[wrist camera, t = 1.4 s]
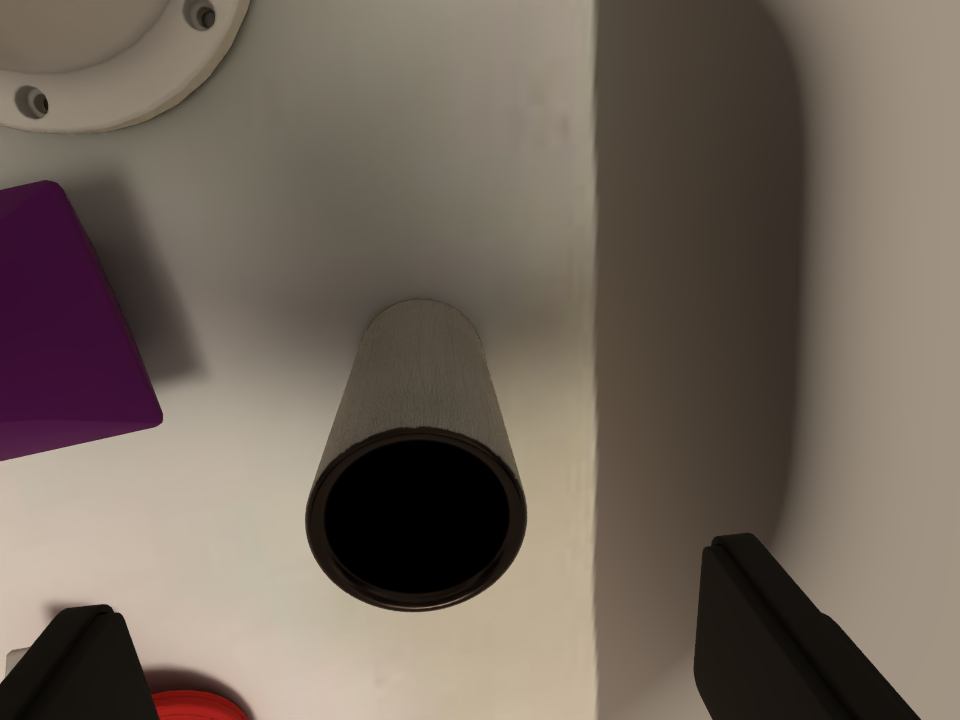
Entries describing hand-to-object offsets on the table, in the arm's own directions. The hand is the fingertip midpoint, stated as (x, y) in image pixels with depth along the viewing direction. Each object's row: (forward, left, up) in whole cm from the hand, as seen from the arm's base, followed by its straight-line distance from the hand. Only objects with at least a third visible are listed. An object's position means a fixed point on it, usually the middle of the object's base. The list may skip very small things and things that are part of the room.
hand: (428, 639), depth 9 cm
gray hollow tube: (0, 0, -13) cm, 13 cm away
